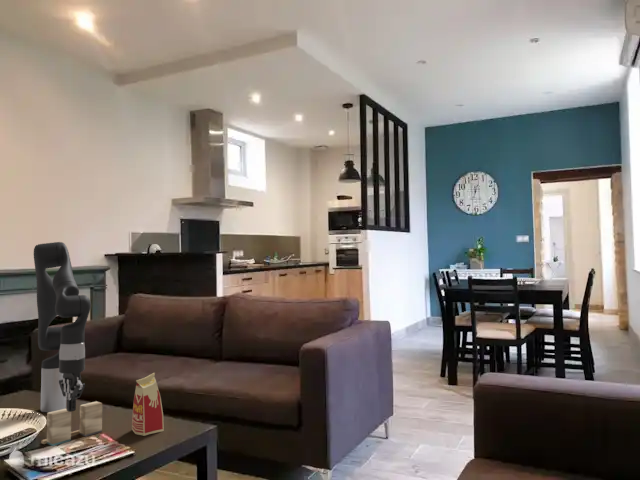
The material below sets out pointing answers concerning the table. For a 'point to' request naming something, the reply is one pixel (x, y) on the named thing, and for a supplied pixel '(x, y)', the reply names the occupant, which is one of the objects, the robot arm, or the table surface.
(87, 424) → the pale wooden block
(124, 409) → the table surface
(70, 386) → the robot arm
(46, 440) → the strip
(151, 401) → the milk carton
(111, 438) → the table surface
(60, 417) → the teal-foot block
